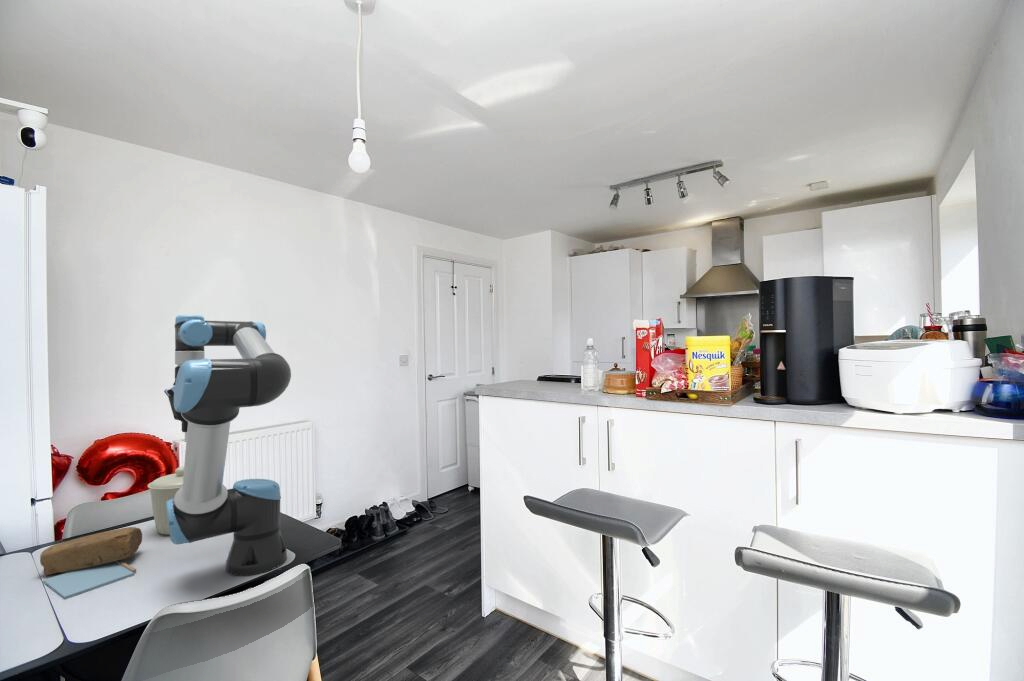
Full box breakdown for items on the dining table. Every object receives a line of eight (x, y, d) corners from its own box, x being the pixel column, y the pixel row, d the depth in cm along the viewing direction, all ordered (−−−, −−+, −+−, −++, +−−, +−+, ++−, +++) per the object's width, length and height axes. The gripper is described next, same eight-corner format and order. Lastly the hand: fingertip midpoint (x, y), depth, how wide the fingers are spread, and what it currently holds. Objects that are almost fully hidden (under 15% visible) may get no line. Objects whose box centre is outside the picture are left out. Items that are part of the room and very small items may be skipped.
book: (137, 573, 126) (137, 570, 126) (64, 599, 113) (64, 595, 113) (113, 560, 134) (113, 556, 134) (43, 582, 122) (43, 578, 122)
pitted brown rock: (127, 533, 130) (35, 553, 123) (130, 560, 130) (38, 581, 123) (142, 521, 140) (58, 538, 133) (145, 545, 140) (61, 564, 133)
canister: (162, 522, 163) (162, 462, 164) (220, 517, 168) (220, 458, 169) (136, 543, 146) (136, 476, 146) (201, 536, 151) (201, 471, 151)
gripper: (206, 364, 150) (206, 437, 150) (159, 366, 139) (159, 444, 139) (218, 364, 147) (218, 439, 146) (171, 366, 135) (171, 447, 135)
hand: (189, 442), depth 143 cm, fingers closed
